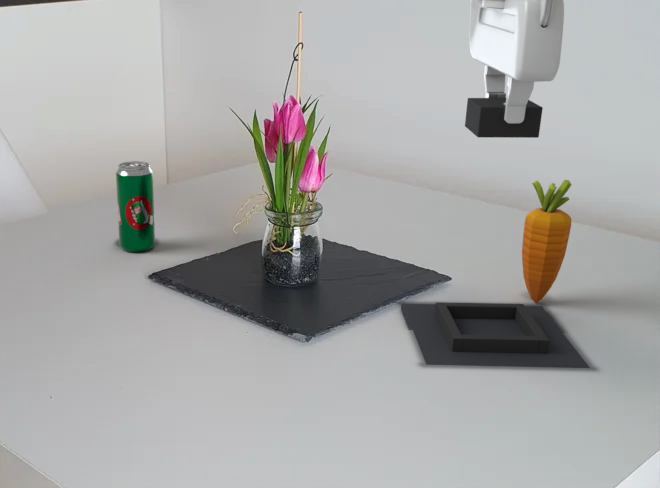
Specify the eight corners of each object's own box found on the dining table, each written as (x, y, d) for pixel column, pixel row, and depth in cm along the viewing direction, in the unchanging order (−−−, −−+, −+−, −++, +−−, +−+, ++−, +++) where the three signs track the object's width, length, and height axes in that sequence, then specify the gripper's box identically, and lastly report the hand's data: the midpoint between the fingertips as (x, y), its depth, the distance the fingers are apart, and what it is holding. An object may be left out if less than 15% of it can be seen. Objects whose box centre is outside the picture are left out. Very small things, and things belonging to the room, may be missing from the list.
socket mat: (540, 312, 97) (543, 293, 96) (590, 376, 82) (594, 354, 81) (400, 309, 98) (402, 291, 97) (424, 372, 83) (426, 351, 82)
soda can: (129, 240, 122) (125, 159, 118) (160, 244, 120) (158, 162, 116) (113, 251, 118) (109, 167, 113) (146, 255, 116) (143, 170, 112)
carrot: (504, 299, 100) (521, 176, 95) (534, 292, 102) (552, 171, 97) (536, 313, 96) (556, 186, 90) (567, 305, 98) (588, 180, 93)
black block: (522, 126, 89) (525, 97, 88) (538, 137, 83) (543, 107, 82) (464, 126, 89) (467, 97, 88) (477, 137, 84) (480, 107, 83)
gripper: (592, -28, 71) (567, 135, 76) (524, -32, 90) (508, 100, 95) (516, -28, 71) (496, 135, 76) (464, -31, 90) (451, 100, 95)
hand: (502, 115), depth 86 cm, fingers closed on black block, 6 cm apart
